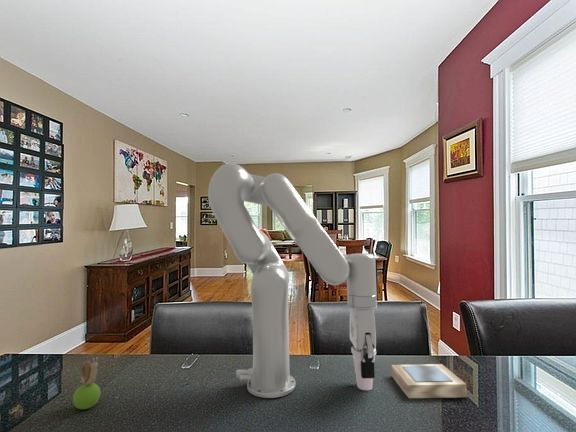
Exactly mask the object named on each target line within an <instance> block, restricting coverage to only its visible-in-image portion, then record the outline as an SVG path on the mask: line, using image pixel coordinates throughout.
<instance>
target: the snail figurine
mask: <svg viewBox="0 0 576 432" xmlns="http://www.w3.org/2000/svg"><path fill="white" fill-rule="evenodd" d="M98 359H99V356H96V357H93V358H92V361H93V362H91V361H89V360H86V361H84V362H82V363H81V367H80V373H81V378H80V379H81V383H82V384H81V385H80V386H78V388H76V390H75V391H74V393H73V396H72V403H73V406H74V407H75V408H77V409H79V410H87V409H88V410H89V409H91V408H92V407H93V406H95V405H96V404H97V402H99V399H100V397H101V388H100V385H98V384H97V383H95V380H96V377H97V372H98V371H97V370H98V365H99V364H98V361H96V360H98Z"/></svg>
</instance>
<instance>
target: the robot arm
mask: <svg viewBox="0 0 576 432" xmlns="http://www.w3.org/2000/svg"><path fill="white" fill-rule="evenodd" d="M207 193H208V194H207V196H208V203H209V206H210V209H211V212H212V214H213V215H214V217H215V220H216V221H217V223H218V225H219V227H220V228H221V230H222V232H223V234H224V237H225V238H226V240H227V241H228V244H229V245H230V247H231V249H232V251H233V253H234V255H235V257H236V258H237V260H239V261H240V262H241V263H243V264H246V265H247V266H248V268H249V270H250V272H251V273H252V278H251V283H250V295H251V296H250V297H251V310H252V311H251V314H252V318H251V319H252V367H251V368H249V367H248V369H236V372H235V373H236V374H235V377H236V378H237V379H238V378H239V382H245V381H247V383H246V384H247V385H246V389H247V391H248V392H249V393H250V394H251V395H252V396H255V397H259V398H263V399H276V398H277V399H278V398H281V397H284V396H287V395H290V394H291V393H293V391H294V390H296V385H297V384H296V379H295V378H294V377H293V376H292V375H291V373H290V322H289V321H290V319H289V318H290V316H289V315H290V314H289V282H290V274H289V271H288V269H287V267H286V265H285V264H284V261H283V260H282V259H281V256H280V255H279V253H278V252H277V250H276V248H275V247H274V245H273V243H272V241H271V239H270V238H269V236H268V235H267V234H266V233H264V232H263V231H261V230H260V229H259V228H258V226H257V224H256V223H255V222H254V220H253V218H252V217H251V214H250V213H249V210H248V209H247V207H246V206H245V204H244V202H246V203H252V204H256V205H260V206H261V205H262V206H267V207H269V209H270V210H271V212H272V213H273V214H274V216H275V217H276V218H277V220H278V221H279V223H280V224H281V225H282V227H283V228H284V230H285V231H286V233H287V234H288V236H289V237H290V238H291V239H292V241H294V243H296V245H297V246H298V247H299V248H300V250H301V251H302V252H303V254H304V255H305V257H306V258H307V260H308V261H309V263H310V264H311V265H312V267H313V268H314V270H315V271H316V272H317V273H318V275H319V276H320V278H321V279H322V281H323V282H324V283H326V284H328V285H331V286H338V285H341V284H343V283H344V282H346V293H347V294H346V295H347V297H346V298H347V307H348V308H349V340H350V342H351V344H352V346H354V347H355V348H356V349H357V350H359V349H361V356H362V361H361V377H362V378H373V379H375V361H374V349H375V348H377V333H376V332H377V330H376V317H375V309H377V308H378V296H377V295H378V294H377V292H378V291H377V289H378V288H377V266H376V265H377V264H376V257H375V256H374V254H372V253H350V254H345V253H344V254H343V253H342V252H341V251H340V249H339V247H338V246H337V245H336V243H335V242H334V241H333V240H332V238H331V237H330V236H329V235H328V233H327V232H326V230H325V229H324V228H323V226H322V225H321V223H320V222H319V220H318V219H317V218H316V216H315V215H314V212H313V211H312V210H311V209H310V208H309V207H308V205H307V204H306V202H305V201H304V199H302V197H301V196H300V194H299V192H298V191H297V190H296V189H295V187H294V186H293V184H292V183H291V182H290V180H289V179H288V178H287V177H286V176H284V175H283V174H281V173H277V172H275V173H271V174H268V175H267V176H261V175H255V174H252V173H249V172H248V171H247V169H245V168H244V167H243V166H241V165H240V164H238V163H237V164H236V163H232V162H231V163H230V162H229V163H225V164H222V165H221V166H219V168H217V169H216V170H215V171H214V174H213V175H212V176H211V178H210V181H209V184H208V190H207ZM363 346H367V348H363ZM364 351H367V353H365V355H364Z"/></svg>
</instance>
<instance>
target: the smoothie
mask: <svg viewBox="0 0 576 432" xmlns="http://www.w3.org/2000/svg"><path fill="white" fill-rule="evenodd" d="M363 348H367V346H363ZM376 348H377V347H376ZM376 348H375V349H374V362H375V360H376V358H375V357H376V355H377V349H376ZM350 350H351V351H350V353H352V358H353V365H354V372H355V377H356V380H355V381H356V385H357V388H358V389H359V390H362V391H370V390H372V389H373V385H374V384H373V382H374V378H362V377H361V361H362V356H361V349H359V350H357V349H356V348H355V347H354V345H352V346H351V348H350ZM365 353H367V351H364V355H365Z"/></svg>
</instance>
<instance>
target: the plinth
mask: <svg viewBox="0 0 576 432" xmlns="http://www.w3.org/2000/svg"><path fill="white" fill-rule="evenodd" d="M391 377H392V378H393V380H394V381H395V383H396V384H397V385H398V386H399V388H400V390H402V392H403V393H404V395H405V396H406V397H407V398H408V399H438V398H439V399H443V398H445V399H446V398H447V399H449V398H453V399H454V398H468V390H467V387H468V386H467V383H466V382H465V381H464V380H462V379H461V378H459V376H457V375H456V374H455V373H453V372H452V371H451V370H449V368H447V367H446V366H445V365H444V364H442V363H436V364H435V363H427V364H426V363H425V364H421V363H419V364H416V363H415V364H391Z"/></svg>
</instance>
